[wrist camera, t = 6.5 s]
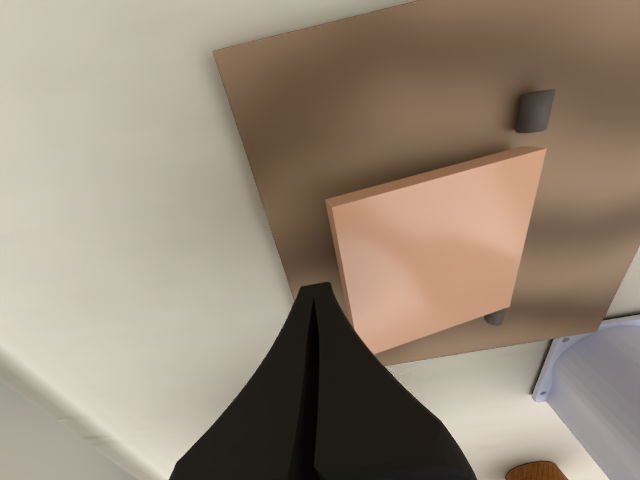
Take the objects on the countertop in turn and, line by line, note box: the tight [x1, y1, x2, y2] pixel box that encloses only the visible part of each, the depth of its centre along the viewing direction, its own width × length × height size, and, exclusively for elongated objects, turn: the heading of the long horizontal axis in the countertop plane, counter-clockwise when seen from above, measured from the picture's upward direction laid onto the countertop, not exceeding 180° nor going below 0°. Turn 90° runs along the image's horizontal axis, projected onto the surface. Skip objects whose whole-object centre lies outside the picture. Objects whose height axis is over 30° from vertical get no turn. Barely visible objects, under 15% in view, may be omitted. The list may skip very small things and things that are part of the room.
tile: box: [325, 146, 547, 354], centre depth 12 cm, size 9×1×9 cm
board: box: [213, 0, 640, 366], centre depth 13 cm, size 20×20×2 cm
